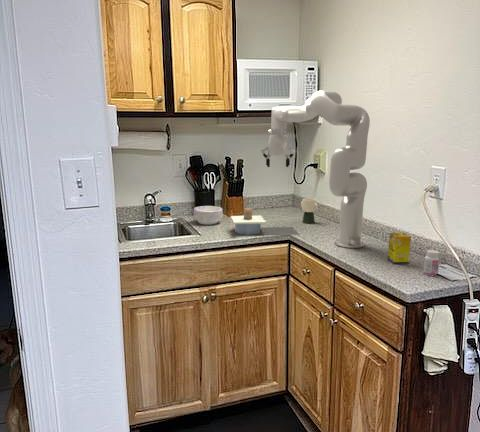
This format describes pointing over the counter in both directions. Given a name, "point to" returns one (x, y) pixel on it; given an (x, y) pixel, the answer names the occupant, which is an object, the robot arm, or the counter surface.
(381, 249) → the counter surface
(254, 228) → the bowl
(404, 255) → the supplement box
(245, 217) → the lid
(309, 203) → the character mug
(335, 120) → the robot arm
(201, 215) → the pale pink bowl
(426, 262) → the pill bottle
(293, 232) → the mat
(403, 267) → the counter surface
